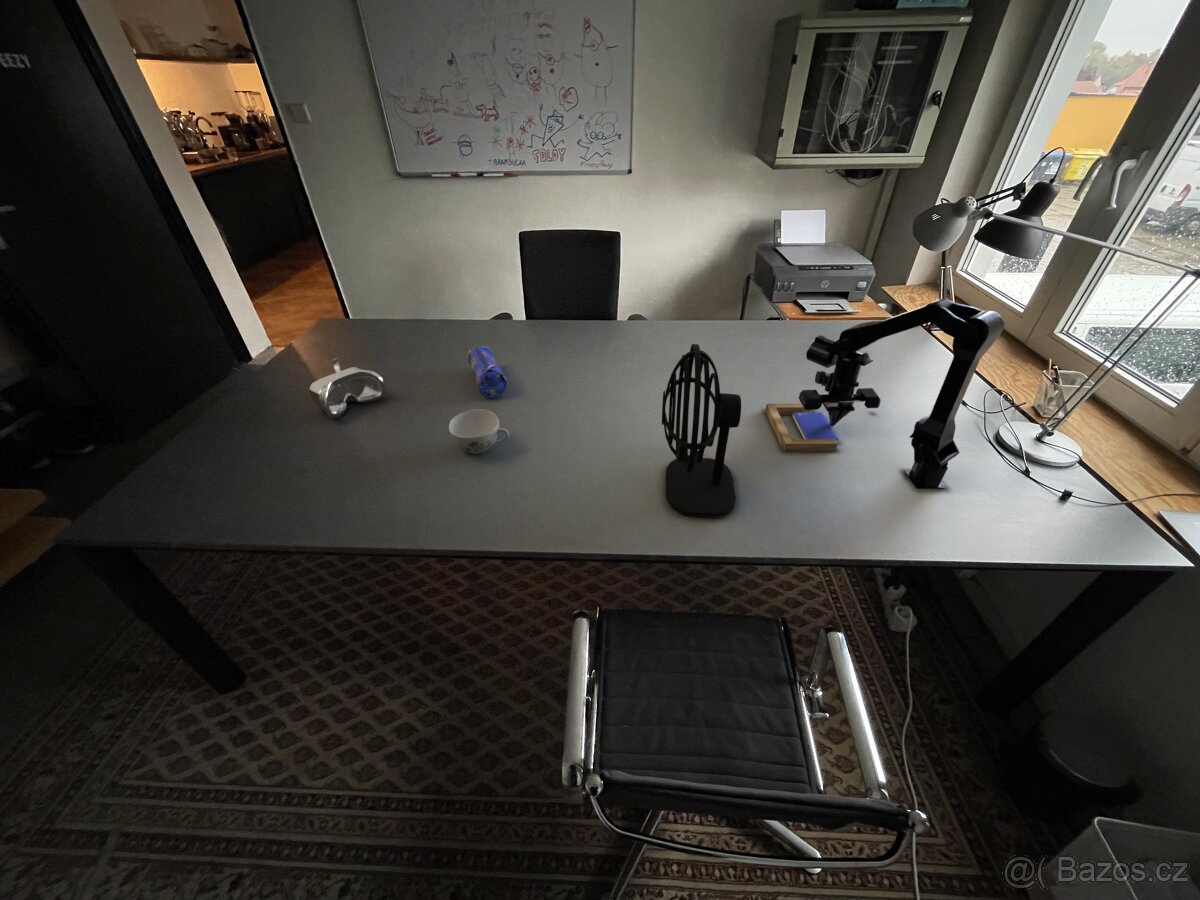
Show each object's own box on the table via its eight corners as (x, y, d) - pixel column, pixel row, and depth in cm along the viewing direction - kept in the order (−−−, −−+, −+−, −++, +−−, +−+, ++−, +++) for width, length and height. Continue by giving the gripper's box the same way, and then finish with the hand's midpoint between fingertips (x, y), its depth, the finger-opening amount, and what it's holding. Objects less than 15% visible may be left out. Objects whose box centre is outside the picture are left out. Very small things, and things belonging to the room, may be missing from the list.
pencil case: (510, 397, 152) (506, 368, 146) (481, 403, 149) (476, 374, 143) (494, 365, 168) (490, 338, 162) (468, 370, 166) (463, 343, 160)
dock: (835, 451, 128) (837, 443, 126) (783, 451, 128) (785, 443, 127) (811, 410, 143) (813, 403, 141) (765, 411, 143) (766, 403, 142)
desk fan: (658, 450, 129) (666, 321, 108) (727, 454, 128) (749, 323, 106) (656, 526, 108) (666, 384, 87) (739, 532, 106) (770, 387, 85)
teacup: (446, 459, 128) (439, 434, 123) (465, 431, 137) (459, 407, 133) (502, 465, 125) (498, 439, 121) (518, 436, 135) (514, 411, 130)
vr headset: (332, 425, 141) (313, 380, 132) (313, 411, 147) (294, 367, 138) (390, 399, 152) (376, 355, 143) (371, 387, 158) (356, 344, 149)
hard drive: (793, 412, 140) (806, 438, 130) (823, 412, 139) (839, 438, 129) (792, 417, 140) (805, 443, 131) (821, 416, 140) (837, 443, 130)
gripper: (871, 358, 131) (855, 408, 141) (798, 360, 132) (787, 410, 141) (889, 379, 122) (871, 431, 132) (811, 381, 123) (799, 433, 133)
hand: (831, 425), depth 135 cm, fingers closed
